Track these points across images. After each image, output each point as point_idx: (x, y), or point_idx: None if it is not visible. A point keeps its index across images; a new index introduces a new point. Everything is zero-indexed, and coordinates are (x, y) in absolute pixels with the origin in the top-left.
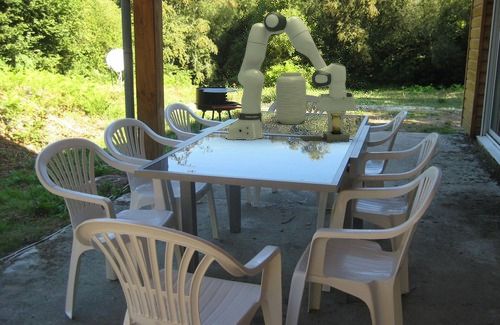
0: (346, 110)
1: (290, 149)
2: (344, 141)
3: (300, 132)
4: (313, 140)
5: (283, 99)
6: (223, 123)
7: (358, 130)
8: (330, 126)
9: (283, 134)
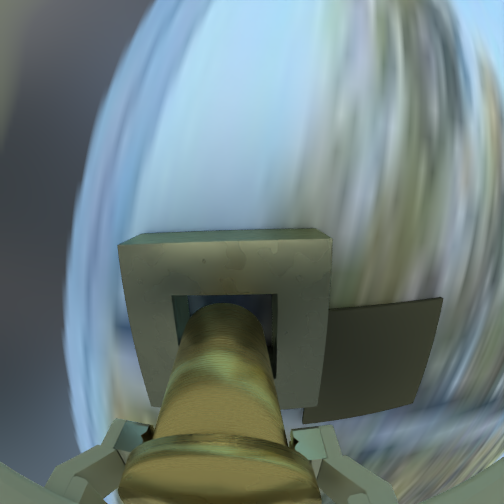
0: (26, 483)
1: (498, 79)
2: (175, 233)
3: None
4: (390, 304)
5: None
6: None
7: None
8: None
9: (440, 435)
